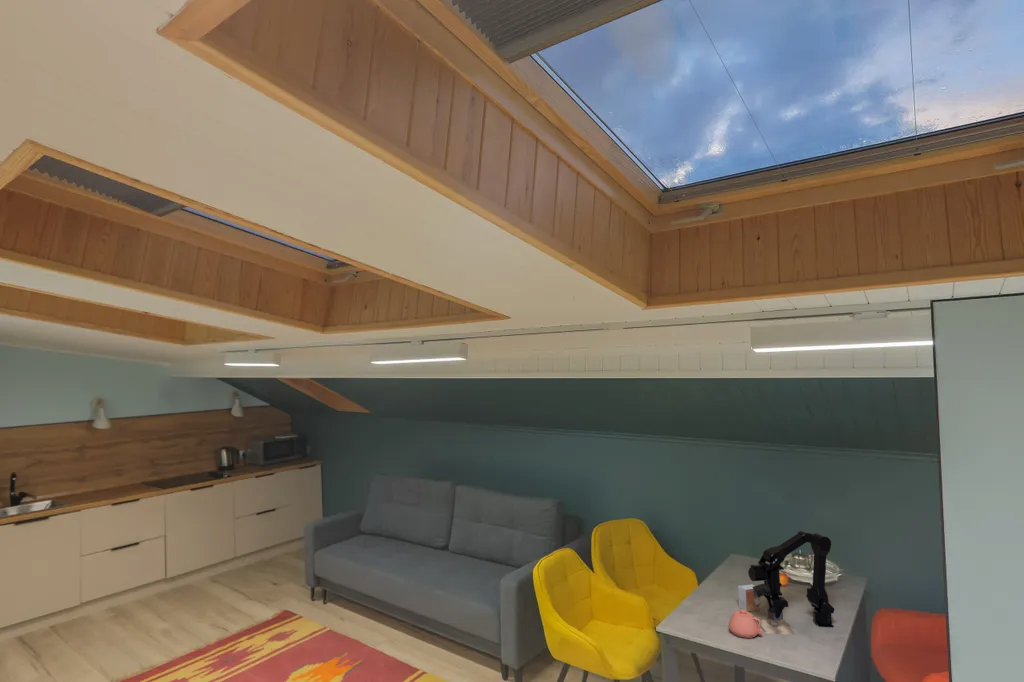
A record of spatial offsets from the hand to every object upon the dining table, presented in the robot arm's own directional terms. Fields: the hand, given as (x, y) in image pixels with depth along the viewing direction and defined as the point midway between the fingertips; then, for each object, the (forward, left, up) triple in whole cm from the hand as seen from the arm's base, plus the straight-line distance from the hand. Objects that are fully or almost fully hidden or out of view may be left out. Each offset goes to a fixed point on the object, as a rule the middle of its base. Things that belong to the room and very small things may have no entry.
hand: (774, 615), depth 248 cm
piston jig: (0, 0, -6) cm, 6 cm away
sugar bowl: (+15, +8, -6) cm, 18 cm away
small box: (+5, -20, -6) cm, 21 cm away
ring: (0, 0, -1) cm, 1 cm away
